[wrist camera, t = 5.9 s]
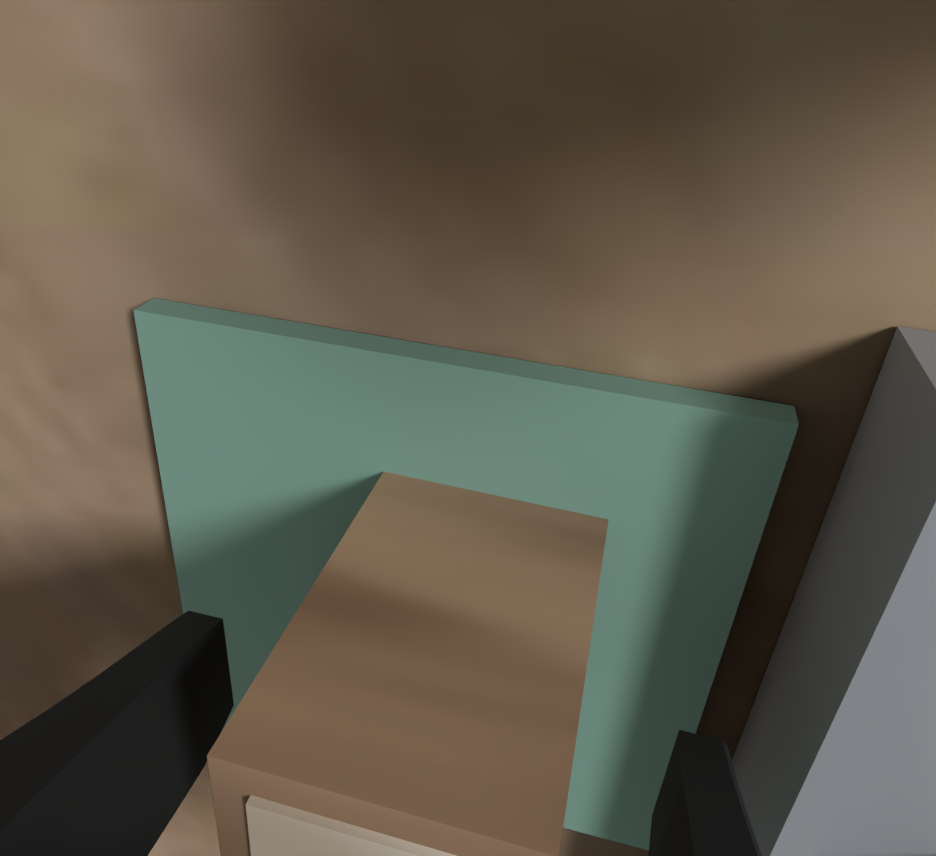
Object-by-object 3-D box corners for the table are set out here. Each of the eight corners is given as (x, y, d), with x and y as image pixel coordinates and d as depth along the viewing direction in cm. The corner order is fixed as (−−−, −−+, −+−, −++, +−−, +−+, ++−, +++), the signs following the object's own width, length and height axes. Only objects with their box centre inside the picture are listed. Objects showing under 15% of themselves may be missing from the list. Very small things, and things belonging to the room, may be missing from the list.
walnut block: (572, 681, 15) (512, 1041, 10) (378, 633, 16) (227, 948, 11) (608, 519, 13) (556, 868, 8) (383, 471, 14) (201, 764, 9)
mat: (656, 827, 18) (655, 852, 17) (214, 710, 19) (202, 729, 19) (794, 405, 12) (799, 424, 11) (153, 298, 14) (133, 309, 13)
